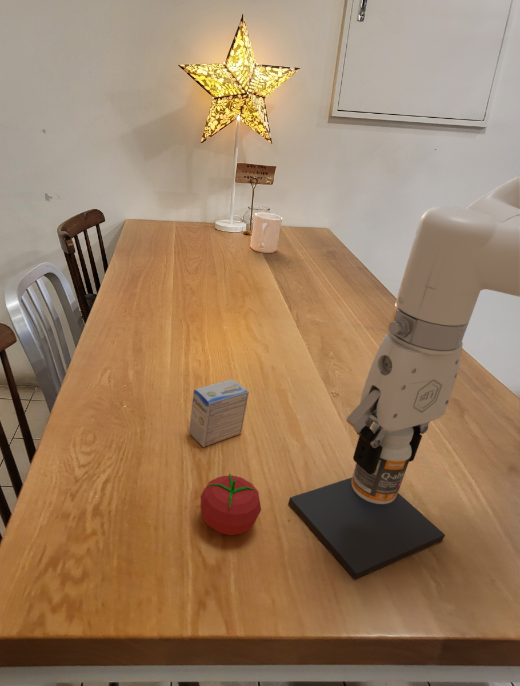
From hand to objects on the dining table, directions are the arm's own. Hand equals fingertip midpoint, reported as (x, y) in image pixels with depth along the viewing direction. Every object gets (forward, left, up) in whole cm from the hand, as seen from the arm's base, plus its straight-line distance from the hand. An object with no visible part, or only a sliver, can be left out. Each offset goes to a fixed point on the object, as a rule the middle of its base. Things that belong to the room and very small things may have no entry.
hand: (383, 459), depth 66 cm
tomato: (+15, -9, -14) cm, 22 cm away
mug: (-60, -115, -14) cm, 130 cm away
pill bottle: (0, 0, -5) cm, 5 cm away
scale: (-3, -2, -13) cm, 14 cm away
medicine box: (+7, -27, -14) cm, 31 cm away
